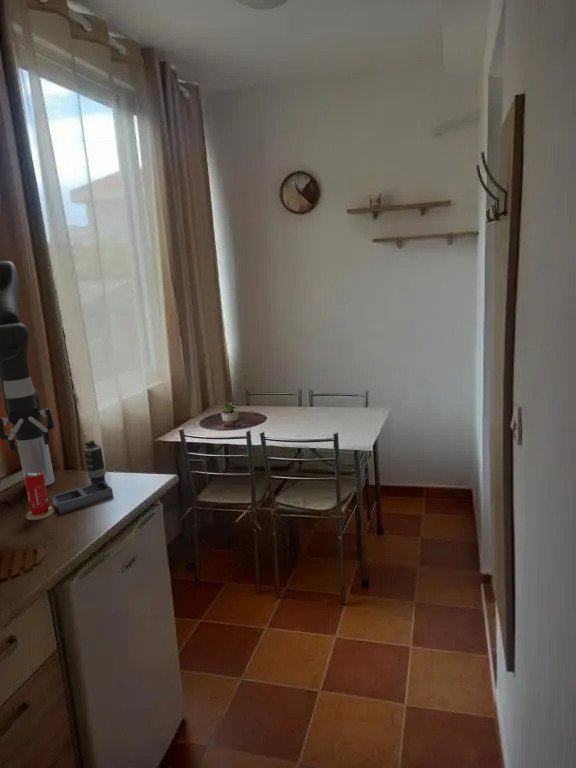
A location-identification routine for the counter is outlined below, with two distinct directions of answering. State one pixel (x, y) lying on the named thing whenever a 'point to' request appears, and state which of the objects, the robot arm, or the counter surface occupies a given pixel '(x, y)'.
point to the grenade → (94, 462)
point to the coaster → (41, 516)
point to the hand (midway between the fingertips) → (30, 447)
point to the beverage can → (37, 492)
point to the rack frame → (82, 497)
